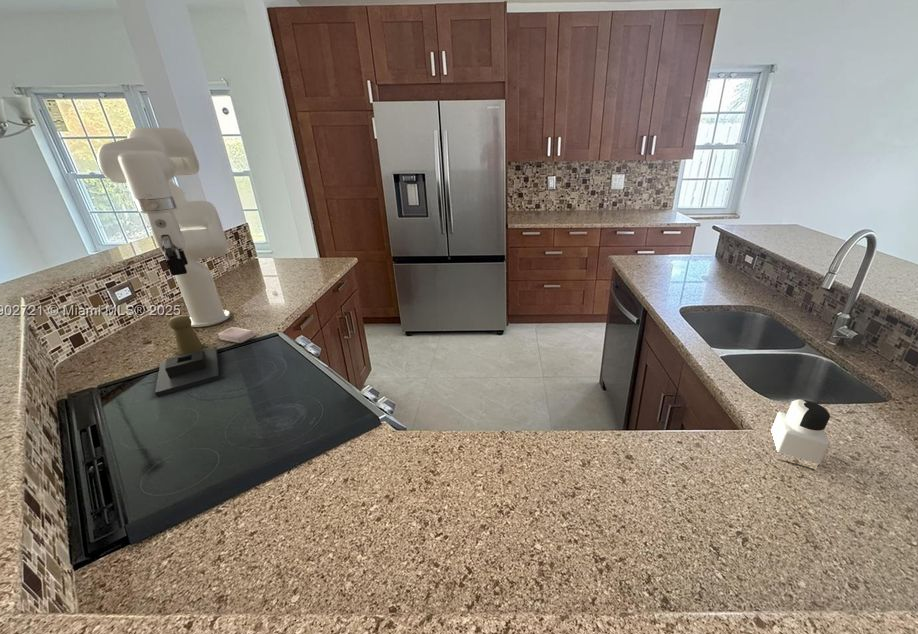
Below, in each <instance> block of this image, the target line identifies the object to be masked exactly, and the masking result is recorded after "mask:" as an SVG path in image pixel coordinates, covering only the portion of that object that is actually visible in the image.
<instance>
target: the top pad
mask: <svg viewBox="0 0 918 634" xmlns="http://www.w3.org/2000/svg"><path fill="white" fill-rule="evenodd" d="M203 351H204V350H203V349H201V350H199V351H197V352H192V353H188V354H179V355H177V356H176V355H175V356H173V357H168V358H166V359H165V360H166V365H165V370H166V372H167V374H168V377H169V378H171V377H175V376H179V375H183V374H186V373H190V372H194V371H198V370H202V369H205V368H206V357H205V354H204V352H203Z"/></svg>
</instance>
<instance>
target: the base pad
mask: <svg viewBox="0 0 918 634" xmlns="http://www.w3.org/2000/svg"><path fill="white" fill-rule="evenodd" d="M203 352H204V354H205V357H206V368H205V369H202V370H198V371H194V372H190V373H186V374H183V375H179V376H175V377H171V378H169V377H168V374H167V372H166V370H165V365H166V359H163V360H160V362H159V368H158V373H157V379H156V385H155V391H154V394H155V396H156V397H159V396H163V395H167V394H171V393H174V392H178V391H181V390H185V389H188V388H193V387H195V386H199V385H203V384H206V383H210V382H213V381H217V380H220V379H221V377H220V366H219V353H218V349H217V347H213V348H210V349H209V348H208V349H205V350H203Z"/></svg>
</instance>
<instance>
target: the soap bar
mask: <svg viewBox="0 0 918 634" xmlns="http://www.w3.org/2000/svg"><path fill="white" fill-rule="evenodd" d="M217 335H218V338H219V340H222V341H226V342H232V343H236V344H242V343H245V342H246V341H248V340H250V339H253V338H254V337H255V334H254V330H251V329H245V328H240V327H235V326H230V327H228V328H227V329H225V330H222V331H220V332H218V334H217Z"/></svg>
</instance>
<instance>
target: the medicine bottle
mask: <svg viewBox="0 0 918 634" xmlns="http://www.w3.org/2000/svg"><path fill="white" fill-rule="evenodd" d="M830 418H831V413H830V412H829V411H828V410H827V408H825V407H824V406H822V404H818V403H817V402H814V401H811V400H807V399H795V400H793V401H791V403H790V406H789V408H788V410H787V412H783V411H778V412H777V414H776V416H775V419H774V421H773V424H772V426H771V428H770V431H771V433H772V436H773V440H774V443H775V446H776V450H777V452H779V453H783V454H786V455H790V456H794V457H798V458H802V459H805V460H809V461H812V462H816V463H819V464H820V465H821V463H822V462H823V459H824V457H825V455H826V453H827V451H828V449H829V448H830V445H831V443H830V440H829V438H828V437H827V435H826V432H825V429H826V428H827V425H828V423H829V421H830Z"/></svg>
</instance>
